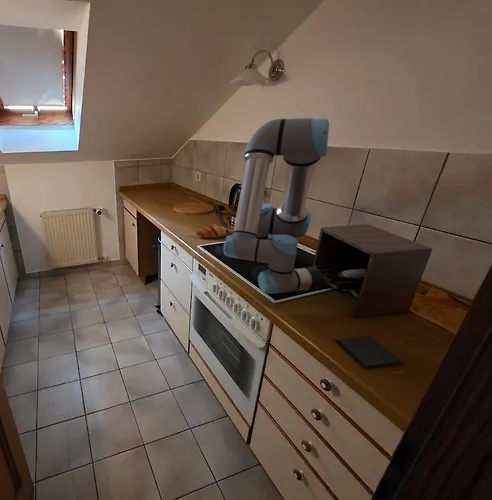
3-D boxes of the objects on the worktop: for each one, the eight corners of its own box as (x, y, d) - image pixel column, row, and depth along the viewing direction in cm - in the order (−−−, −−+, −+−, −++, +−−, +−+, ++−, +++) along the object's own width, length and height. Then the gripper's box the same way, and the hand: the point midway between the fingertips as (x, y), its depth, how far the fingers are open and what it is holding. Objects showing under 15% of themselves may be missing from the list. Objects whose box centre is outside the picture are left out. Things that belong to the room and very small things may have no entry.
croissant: (229, 238, 170) (228, 224, 170) (238, 235, 160) (236, 221, 160) (194, 241, 166) (192, 227, 167) (200, 238, 156) (199, 223, 157)
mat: (336, 341, 84) (337, 339, 83) (369, 338, 85) (370, 335, 84) (365, 368, 75) (366, 365, 74) (401, 363, 75) (402, 361, 75)
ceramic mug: (332, 285, 107) (337, 266, 104) (353, 283, 108) (359, 264, 105) (354, 301, 98) (361, 281, 94) (377, 299, 98) (385, 279, 95)
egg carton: (255, 236, 162) (256, 229, 160) (269, 235, 162) (270, 228, 160) (263, 243, 152) (264, 236, 150) (278, 242, 152) (279, 235, 151)
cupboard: (309, 281, 115) (320, 227, 106) (352, 278, 117) (367, 224, 108) (355, 317, 93) (375, 253, 85) (408, 312, 95) (432, 248, 86)
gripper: (287, 274, 111) (344, 269, 113) (323, 305, 92) (391, 298, 94) (290, 256, 108) (348, 251, 110) (329, 284, 89) (398, 277, 91)
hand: (368, 273), depth 102 cm, fingers closed on ceramic mug, 7 cm apart
